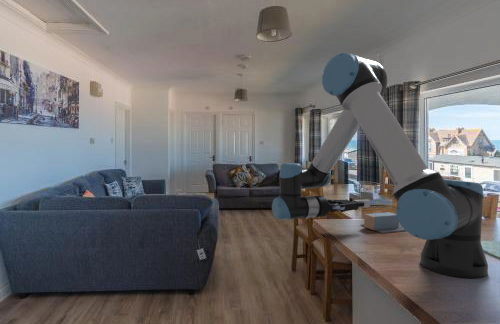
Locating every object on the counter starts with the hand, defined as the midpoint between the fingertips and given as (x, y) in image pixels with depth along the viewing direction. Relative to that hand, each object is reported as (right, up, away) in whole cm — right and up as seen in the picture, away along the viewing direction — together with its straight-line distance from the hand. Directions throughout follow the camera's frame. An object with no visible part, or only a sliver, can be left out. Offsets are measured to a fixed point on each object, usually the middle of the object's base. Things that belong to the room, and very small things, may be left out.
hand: (368, 203), depth 126 cm
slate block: (0, -7, 0) cm, 7 cm away
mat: (+8, -10, +2) cm, 13 cm away
